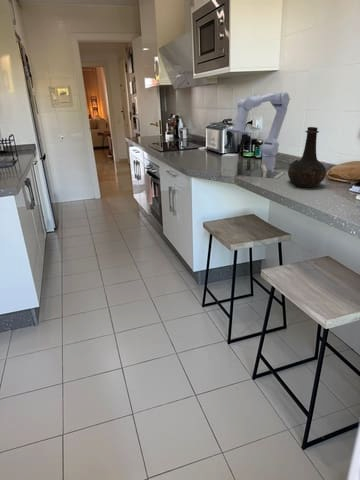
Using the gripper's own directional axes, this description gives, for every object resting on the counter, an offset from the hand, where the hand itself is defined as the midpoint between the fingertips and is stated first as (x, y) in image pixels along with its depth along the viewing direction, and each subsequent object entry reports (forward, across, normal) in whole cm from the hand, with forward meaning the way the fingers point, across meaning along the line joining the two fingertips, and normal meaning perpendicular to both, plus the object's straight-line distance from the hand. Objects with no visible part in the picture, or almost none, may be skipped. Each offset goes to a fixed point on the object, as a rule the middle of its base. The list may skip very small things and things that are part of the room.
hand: (234, 147), depth 189 cm
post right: (+12, +6, +17) cm, 22 cm away
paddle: (+10, +19, +10) cm, 24 cm away
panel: (+12, +19, +10) cm, 24 cm away
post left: (+15, +6, +4) cm, 17 cm away
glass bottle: (+12, +43, -3) cm, 45 cm away
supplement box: (+17, +1, +1) cm, 17 cm away
